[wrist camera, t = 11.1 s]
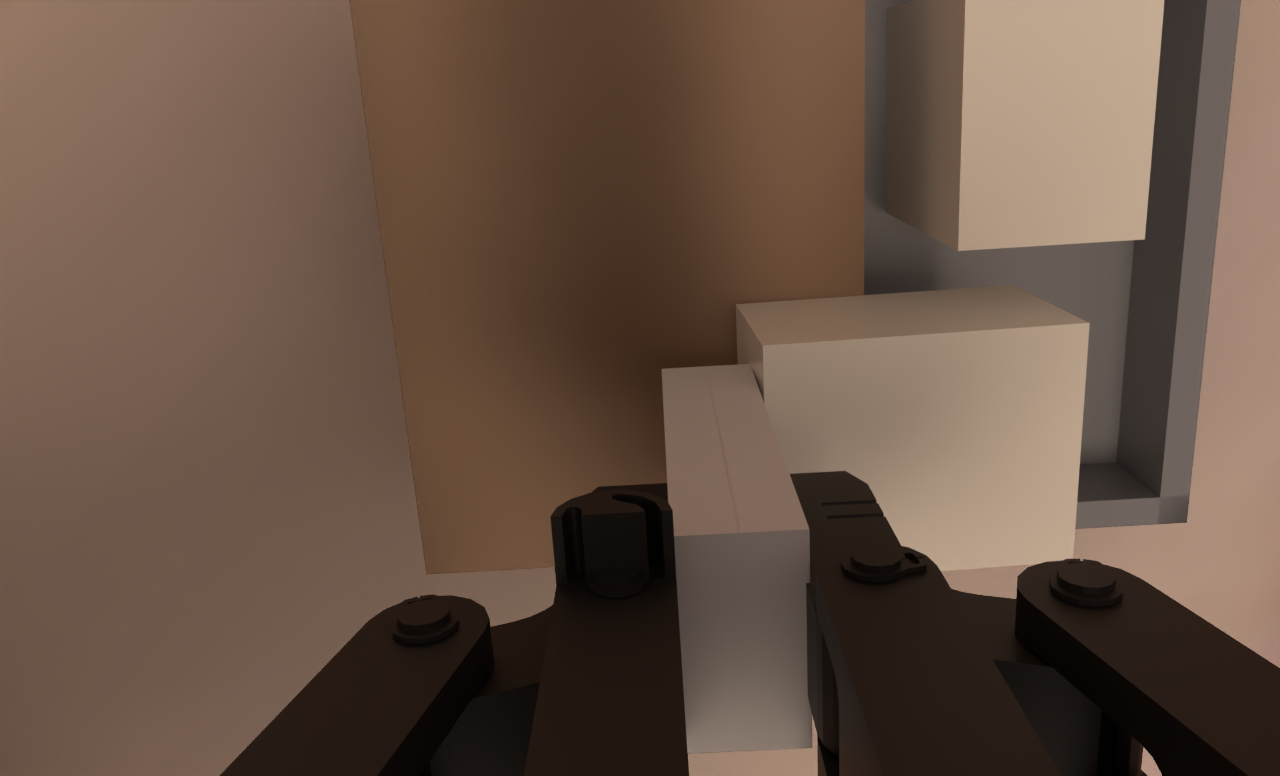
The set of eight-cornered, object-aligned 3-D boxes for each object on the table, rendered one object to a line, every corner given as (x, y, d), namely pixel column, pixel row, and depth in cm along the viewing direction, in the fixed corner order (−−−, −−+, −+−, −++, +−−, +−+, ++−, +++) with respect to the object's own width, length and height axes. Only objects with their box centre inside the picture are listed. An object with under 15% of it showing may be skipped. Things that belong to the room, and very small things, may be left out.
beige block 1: (957, 251, 16) (1144, 239, 16) (965, -14, 15) (1166, -28, 15) (885, 212, 21) (1029, 202, 21) (887, 8, 20) (1039, -3, 20)
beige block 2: (742, 509, 19) (768, 584, 17) (735, 304, 18) (762, 346, 15) (1001, 490, 20) (1072, 561, 17) (1011, 284, 18) (1089, 322, 15)
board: (460, 494, 24) (426, 574, 20) (399, -12, 20) (344, -33, 17) (825, 473, 24) (862, 549, 20) (821, -39, 20) (865, -67, 17)
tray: (826, 493, 24) (848, 541, 21) (821, -67, 20) (848, -87, 18) (1128, 475, 24) (1187, 522, 21) (1176, -90, 20) (1252, -113, 18)
